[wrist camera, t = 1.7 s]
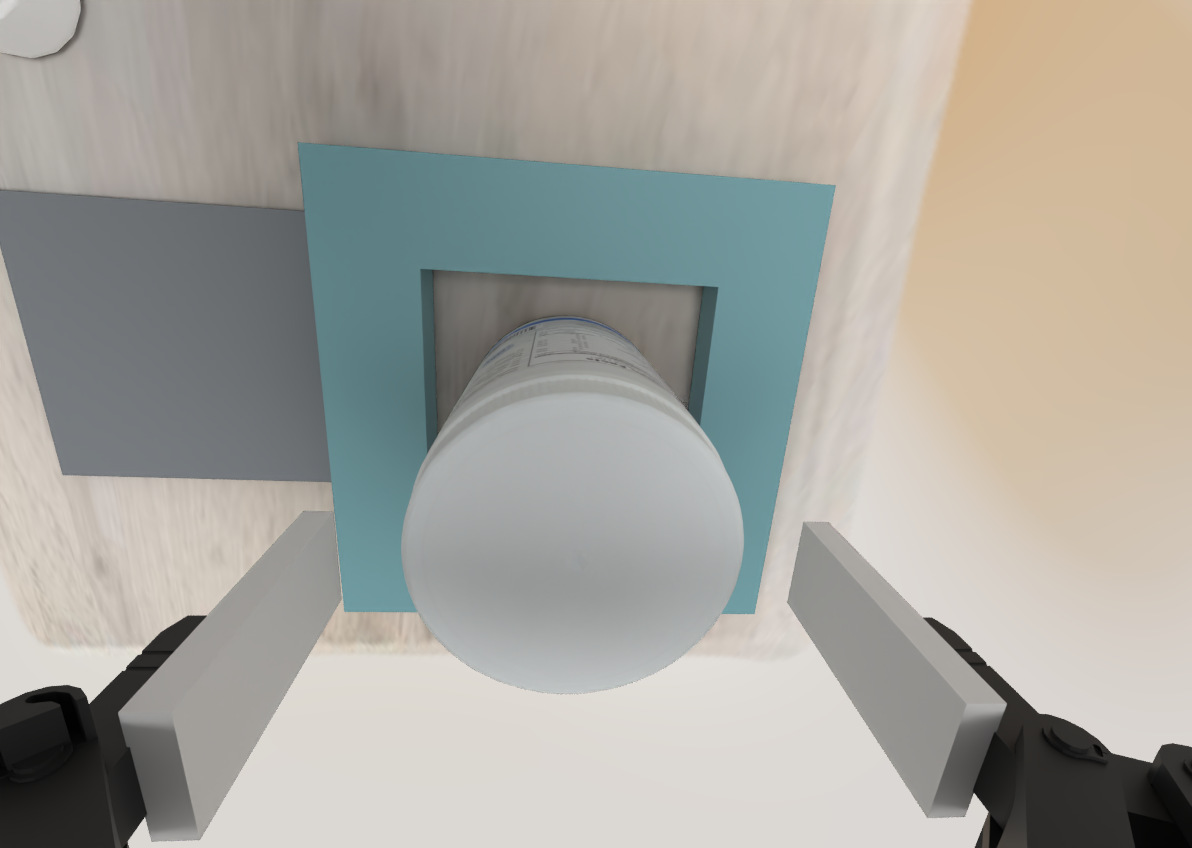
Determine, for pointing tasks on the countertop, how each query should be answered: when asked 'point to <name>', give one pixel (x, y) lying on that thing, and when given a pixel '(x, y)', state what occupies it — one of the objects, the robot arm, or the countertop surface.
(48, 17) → the white jar
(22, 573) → the countertop surface
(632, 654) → the supplement tub
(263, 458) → the slate mat
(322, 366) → the holder frame
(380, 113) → the countertop surface
